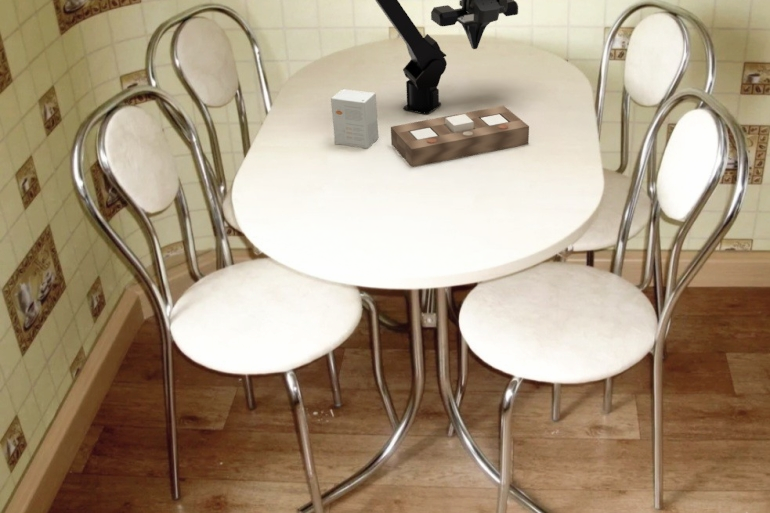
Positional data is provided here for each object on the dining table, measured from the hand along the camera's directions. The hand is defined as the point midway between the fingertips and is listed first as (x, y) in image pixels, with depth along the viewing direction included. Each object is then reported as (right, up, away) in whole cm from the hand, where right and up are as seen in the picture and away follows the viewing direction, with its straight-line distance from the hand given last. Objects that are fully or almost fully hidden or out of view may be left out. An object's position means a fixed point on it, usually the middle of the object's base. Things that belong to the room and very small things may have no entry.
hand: (474, 48), depth 215 cm
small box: (-26, -22, -11) cm, 36 cm away
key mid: (-5, -21, -15) cm, 26 cm away
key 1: (-12, -24, -17) cm, 32 cm away
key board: (-4, -23, -14) cm, 27 cm away
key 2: (+3, -21, -12) cm, 24 cm away
